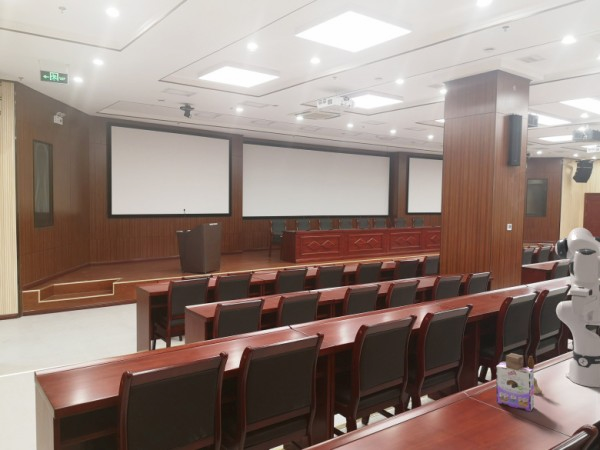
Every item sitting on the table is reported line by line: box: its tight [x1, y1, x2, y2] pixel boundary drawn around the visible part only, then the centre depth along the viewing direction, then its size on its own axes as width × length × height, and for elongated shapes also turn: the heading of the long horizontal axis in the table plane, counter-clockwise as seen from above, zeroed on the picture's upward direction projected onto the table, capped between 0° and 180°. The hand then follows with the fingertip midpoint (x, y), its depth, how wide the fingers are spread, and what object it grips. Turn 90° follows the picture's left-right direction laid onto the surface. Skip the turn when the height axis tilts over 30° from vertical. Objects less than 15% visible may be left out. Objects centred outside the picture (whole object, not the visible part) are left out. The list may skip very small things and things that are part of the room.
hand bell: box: [527, 355, 542, 395], centre depth 201 cm, size 8×8×16 cm
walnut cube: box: [505, 352, 524, 370], centre depth 186 cm, size 5×5×5 cm
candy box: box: [495, 362, 535, 412], centre depth 186 cm, size 14×6×16 cm, turn 47°
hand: (586, 322), depth 178 cm, fingers open, 8 cm apart
